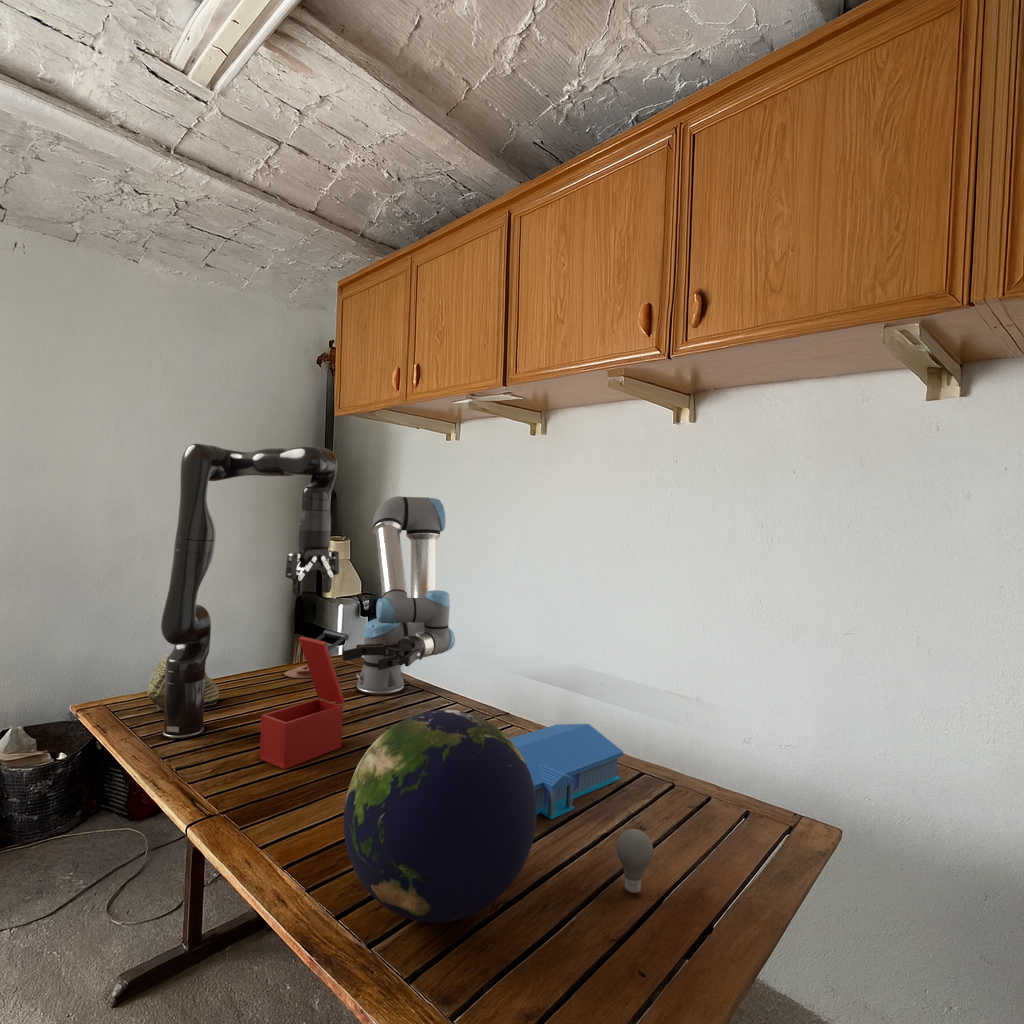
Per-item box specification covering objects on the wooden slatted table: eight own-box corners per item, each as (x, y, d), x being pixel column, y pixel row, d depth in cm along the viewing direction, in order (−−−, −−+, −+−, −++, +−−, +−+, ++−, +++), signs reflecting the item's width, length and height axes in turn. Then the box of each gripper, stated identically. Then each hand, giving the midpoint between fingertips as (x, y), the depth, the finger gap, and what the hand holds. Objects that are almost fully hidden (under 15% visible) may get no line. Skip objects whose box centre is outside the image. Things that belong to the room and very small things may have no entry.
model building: (505, 839, 120) (507, 787, 120) (430, 791, 138) (432, 746, 138) (631, 784, 146) (633, 741, 146) (555, 749, 164) (556, 711, 164)
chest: (283, 769, 146) (285, 723, 146) (259, 759, 151) (261, 714, 151) (341, 747, 160) (343, 705, 160) (317, 738, 165) (319, 697, 165)
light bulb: (610, 879, 108) (613, 822, 108) (644, 879, 109) (647, 822, 109) (619, 902, 102) (622, 840, 102) (655, 901, 103) (658, 840, 103)
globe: (296, 934, 92) (304, 728, 91) (406, 836, 119) (412, 678, 119) (484, 1004, 80) (494, 770, 80) (557, 878, 108) (565, 703, 108)
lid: (322, 644, 154) (347, 626, 160) (298, 638, 159) (323, 621, 165) (341, 704, 160) (365, 685, 166) (317, 696, 165) (341, 678, 171)
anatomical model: (279, 664, 218) (297, 657, 229) (279, 676, 218) (296, 668, 229) (314, 668, 215) (331, 660, 227) (314, 680, 216) (330, 671, 227)
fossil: (144, 707, 182) (145, 655, 182) (212, 696, 194) (213, 647, 194) (151, 716, 175) (153, 662, 175) (221, 703, 188) (223, 653, 188)
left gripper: (300, 529, 148) (298, 599, 148) (347, 528, 160) (345, 593, 160) (280, 527, 152) (277, 595, 152) (327, 527, 164) (325, 589, 164)
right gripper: (446, 667, 182) (394, 683, 164) (383, 652, 195) (329, 665, 178) (447, 641, 181) (395, 654, 164) (384, 628, 195) (330, 639, 177)
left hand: (312, 594), depth 156 cm, fingers open, 8 cm apart
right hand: (360, 660), depth 171 cm, fingers open, 13 cm apart
